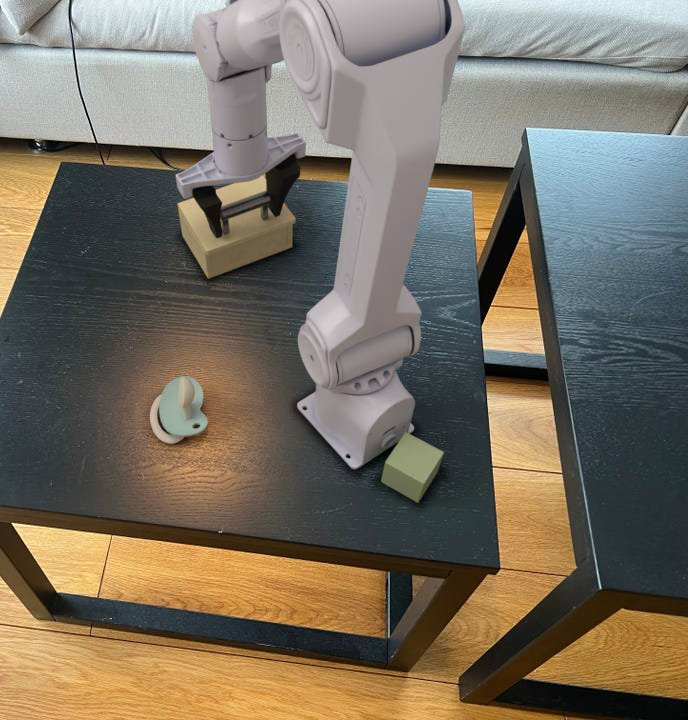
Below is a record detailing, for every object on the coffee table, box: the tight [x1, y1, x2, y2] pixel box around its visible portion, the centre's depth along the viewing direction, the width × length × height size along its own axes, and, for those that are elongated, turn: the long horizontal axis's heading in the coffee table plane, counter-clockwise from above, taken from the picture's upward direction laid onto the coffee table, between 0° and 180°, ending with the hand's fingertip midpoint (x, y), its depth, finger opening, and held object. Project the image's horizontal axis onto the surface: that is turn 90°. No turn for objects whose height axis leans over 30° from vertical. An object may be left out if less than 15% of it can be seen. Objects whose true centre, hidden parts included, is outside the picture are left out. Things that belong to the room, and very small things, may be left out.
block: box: [380, 432, 445, 504], centre depth 72 cm, size 4×4×4 cm
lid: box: [177, 175, 297, 255], centre depth 89 cm, size 9×11×4 cm
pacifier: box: [149, 375, 208, 445], centre depth 77 cm, size 7×6×6 cm
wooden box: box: [177, 207, 294, 279], centre depth 93 cm, size 8×11×5 cm
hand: (245, 221), depth 88 cm, fingers open, 7 cm apart
